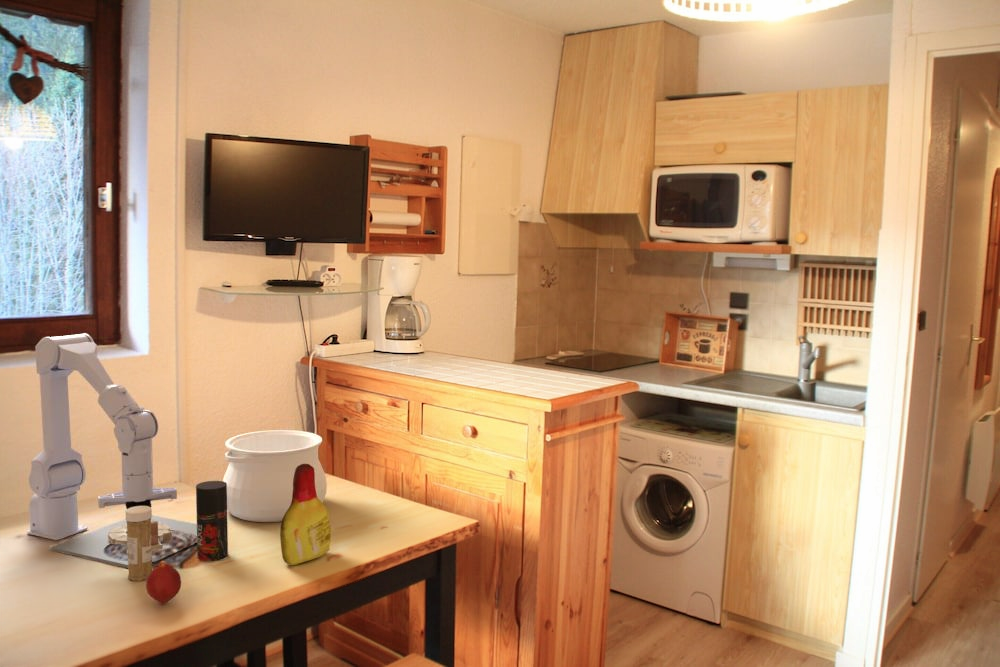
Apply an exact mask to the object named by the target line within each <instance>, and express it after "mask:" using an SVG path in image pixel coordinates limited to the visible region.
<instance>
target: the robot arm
mask: <svg viewBox="0 0 1000 667" xmlns="http://www.w3.org/2000/svg"><path fill="white" fill-rule="evenodd" d="M34 347H35V349H34V350H35V363H36V364H35V365H36V367H35V368H36V374H38V375H39V389H40V408H41V426H42V443H43V446H42V447H43V449H42V451H40V452H39V453H38V454H37V455H36V456H35V457H34V458H33V459H32V460H31V462H30V463H31V464H30V465H31V468H30V473H29V477H28V483H29V487H30V488H31V489H30V490H31V491H32V492H33V495H32V496H31V498H30V501H29V504H28V506H29V507H28V509H29V527H30V529H29V530H27V531H26V534H28V535H32V536H36V537H40V538H45V539H48V540H49V539H50V540H55V541H58V540H62V539H64V538H67V537H70V536H72V535H76V534H78V533H81V532H84V531H86V530H88V526H84V525H81V524H79V513H78V512H79V511H78V509H79V508H78V491H80V490H81V486H82V485H83V484H84V482H85V480H86V476H87V472H86V467H85V465H84V462H83V457H82V456H83V455H82V454H81V452H79V451H78V450H75V449H74V448H72V440H71V421H70V404H69V402H70V401H69V385H68V378H69V376H70V375H71V374H72V373H73V372H74V371H77V372H78V374H80V375H81V376H82V377H83V378H84V379H85V381H87V383H88V384H89V385H90V386H91V387H92V388H93V389H94V390H95V391H96V393H97V394H98V398H97V403H98V405H99V406H100V407H101V409H102V410H103V411H104V413H105V414H106V415H107V416H108V418H109V420H111V422H112V423H113V425H114V427H113V435H114V437H115V439H116V440H117V444H118V446H117V447H118V449H119V452H121V454H120V455H121V476H122V477H121V478H122V479H121V480H122V481H121V482H122V486H121V487H122V491H119V492H115V493H110V494H105V495H104V494H103V495H98V496H97V498H98V499H97V500H98V505H97V506H98V509H102V508H106V507H111V506H120V505H124V506H125V507H126V508H125V509H126V510H127V509H128V508H131V507H135V506H149V507H151V508H152V503H151V502H153V501H162V500H168V499H171V500H177V499H178V492H177V488H176V486H175V487H159V488H158V487H157V488H156V487H155V488H154V473H153V472H154V470H153V469H154V468H153V465H154V464H153V438H155V437H156V436H157V434H158V431H159V423H158V422H159V421H158V418H157V417H156V415H155V413H154V412H153V411H151V410H148V409H145V408H144V407H140V406H139V404H138V403H137V402H136V400H135V399H134V397H132V395H131V394H130V393H129V392H128V390H127V388H126V387H125V386H123V385H121V384H115V383H114V381H113V379H112V377H111V376H110V374H109V373H108V372H107V370H106V369H105V367H104V366H103V364H102V362H101V361H100V359H99V358H98V345H97V344H96V343H95V341H94V339H93V337H92V336H91V335H89V334H88V333H85V332H84V333H79V334H71V335H69V334H68V335H63V336H62V335H60V336H51V337H50V336H44V337H42V338H41V339H40V340H39V341H38V343H37V344H36V345H35V346H34Z"/></svg>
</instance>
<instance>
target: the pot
mask: <svg viewBox="0 0 1000 667" xmlns="http://www.w3.org/2000/svg"><path fill="white" fill-rule="evenodd" d="M322 442H323V438H322V436H320V435H318V434H317V433H313V432H311V431H303V430H292V429H291V430H290V429H276V430H275V429H274V430H271V429H270V430H260V431H253V432H252V431H251V432H246V433H242V434H238V435H235V436H233V437H230V438H228V439H227V440H225V445H224V446H225V447H226V449H228V451H227V452H225V453H224V460H225V461H227V462H229V464H228V466H227V469H226V472H225V473H224V476H223V480H222V481H223V482H226V483H227V512H229V513H230V515H232V516H233V517H236V518H237V519H241V520H244V521H250V522H257V523H276V522H277V523H278V522H282V519H283V517H284V515H285V513H286V511H287V510H288V509H289V507H290V505H291V502H292V493H293V478H294V473H295V469H296V468H297V466H299V465H301V464H309V465H311V466H312V467H313V468H314V472H315V489H316V495H317V498H318V499H319V500H320V501H321V502H322V503H323V504H324V501H325V497H326V495H327V491H328V490H327V485H328V483H327V479H326V473H325V471H324V469H323V466H322V463H321V461H320V459H319V447H320V445H321V444H322Z"/></svg>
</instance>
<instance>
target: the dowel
mask: <svg viewBox="0 0 1000 667" xmlns="http://www.w3.org/2000/svg"><path fill="white" fill-rule="evenodd" d="M171 541H172V531H165V532H163V543H169V542H171Z"/></svg>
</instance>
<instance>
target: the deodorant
mask: <svg viewBox="0 0 1000 667" xmlns="http://www.w3.org/2000/svg"><path fill="white" fill-rule="evenodd" d="M195 496H196V497H195V498H196V499H195V502H196V524H197V545H196V546H197V547H196V549H197V550H196V551H197V552H196V553H197V557H196V558H197V560H198V559H199V560H198V561H200V562H205V563H213V562H218V561H223V560H224V559H227V557H228V556H229V543H228V542H229V541H228V540H229V538H228V536H229V534H228V533H229V532H228V510H227V483H226V482H223V480H209V481H202V482H199V483H198V484H196V486H195Z"/></svg>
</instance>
